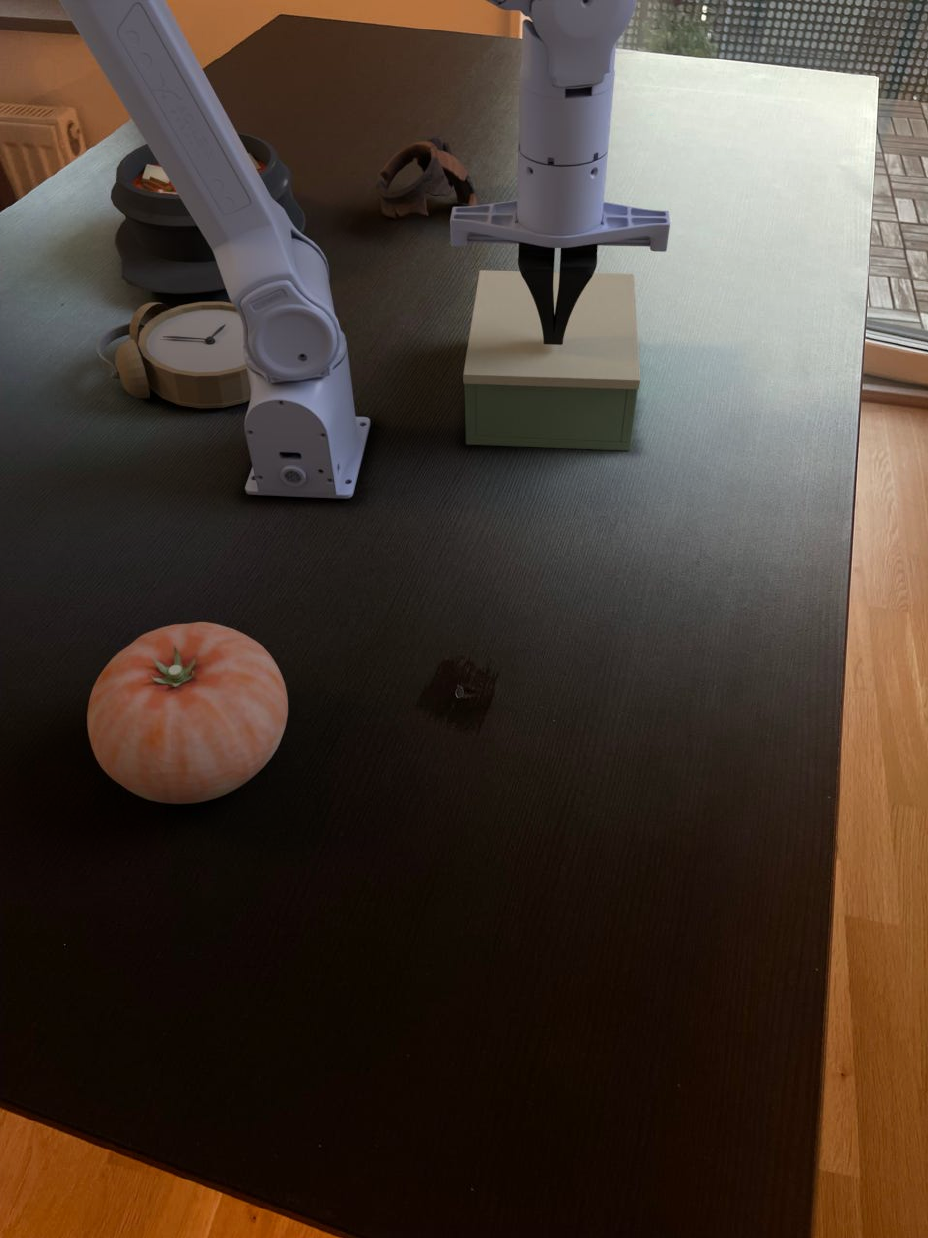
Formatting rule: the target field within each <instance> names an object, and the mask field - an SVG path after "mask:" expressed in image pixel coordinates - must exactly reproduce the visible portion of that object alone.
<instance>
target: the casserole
mask: <svg viewBox="0 0 928 1238" xmlns="http://www.w3.org/2000/svg"><path fill="white" fill-rule="evenodd" d="M236 133H237V135H238V136H239V138H240V140H241V142H242V144H243V146H244V148H245V149H246V151H247V153H248V155H249V157H250V159H251V160H252V162H253V164H254V166H255V168H256V170H257V172H258V173H259V175H260V177H261V179H262V181H263V183H264V185H265V186H266V188H267V190H268V192H269V194H270V196H271V197H272V199H273V200H274V201H276V202H277V203H278V204H279V205H280V206H281V207H283V208H284V210H285V211H286V213H287V215H288V217H289V219H290V221H291V222H292V224H293V225H294V227H295V228H296V229H297V230H298V231H299V232H300V233H301V234H303V233H304V232H305V229H306V225H307V219H306V215H305V214H306V213H305V212H304V211H303V209H302V208H301V207H300V205H299V204H298V202H297V201H296V200H295V197H294V193H293V189H292V186H291V183H292V174H291V173H292V172H291V170H290V169H289V168H288V166H287V164H285V163H284V162H282V160H281V159H280V157H279V155H278V152H277V151H276V149H275V148H274V147H273V145H272V144H271V143H269V142H268V141H266V140H264V139H263V138H260V137H257V136H255V135H251V134H247V133H242V132H236ZM115 173H116V174H115V183H114V184H113V186H112V188H111V190H110V200H111V203H112V205H113V206H114V207H115V208H116V210H117V211H118V212H120V213H121V214H122V215H123V216H124V217H125V219H124V220H123V221H122V222H121V223H120V225H119V226H118V229H117V231H116V233H115V236H114V245H115V248H116V250H117V252H118V255H119V257H120V260H121V279H122V280H123V281H124V282H125V283H126V284H127V285H129V286H132V287H134V288H136V289H139V290H144V291H149V292H153V293H162V294H163V293H164V294H173V295H174V294H175V295H176V294H201V293H210V292H218V291H222V290H226V287H225V284H224V281H223V278H222V276H221V273H220V270H219V267H218V264H217V261H216V258H215V256H214V253H213V251H212V249H211V247H210V245H209V244H208V242H207V240H206V239H205V237H204V236H203V234H202V232H201V231H200V229H199V227H198V226H197V224H196V223H195V221H194V219H193V218H192V216H191V214H190V213H189V211H188V210H187V208H186V206H185V205H184V203H183V201H182V200H181V198H180V197H179V195H178V193H177V192H176V190H175V188H174V187H173V185H172V184H171V182H170V180H169V179H168V177H167V175H166V174H165V172H164V171H163V169H162V167H161V166H160V164H159V162H158V161H157V159H156V157H155V156H154V154H153V153H152V151H151V149H150V148H149V146H148V144H147V143H145V144H143V145H141V146H139V147H137V148H135V149H133V150H132V151H130V152H129V153H128V154H126V155H125V156H124V157H123V158H122V159H121V160H120V162H119V163H118V165H117V167H116V172H115Z"/></svg>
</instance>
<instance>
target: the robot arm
mask: <svg viewBox="0 0 928 1238" xmlns="http://www.w3.org/2000/svg"><path fill="white" fill-rule="evenodd" d="M58 1H59V3H60V5H61V6H62V8H63V10H64V11H65V13H66V14H67V16H68V18H69V19H70V21H71V22H72V24H73V26H74V28H75V29H76V31H77V32H78V34H79V35H80V37H81V39H82V40H83V42H84V44H85V45H86V47H87V49H88V50H89V52H90V53H91V55H92V57H93V58H94V60H95V62H96V63H97V65H98V66H99V68H100V70H101V71H102V73H103V74H104V76H105V78H106V80H107V81H108V83H109V84H110V86H111V88H112V90H113V91H114V93H115V94H116V96H117V97H118V99H119V100H120V102H121V104H122V106H123V107H124V109H125V110H126V112H127V114H128V115H129V117H130V119H131V120H132V122H133V124H134V125H135V127H136V128H137V130H138V131H139V133H140V135H141V136H142V138H143V140H144V141H145V144H148V146H149V148H150V149H151V151H152V153H153V154H154V156H155V157H156V159H157V161H158V162H159V164H160V166H161V167H162V169H163V171H164V172H165V174H166V175H167V177H168V179H169V180H170V182H171V184H172V185H173V187H174V188H175V190H176V192H177V193H178V195H179V197H180V198H181V200H182V201H183V203H184V205H185V206H186V208H187V210H188V211H189V213H190V214H191V216H192V218H193V219H194V221H195V223H196V224H197V226H198V227H199V229H200V231H201V232H202V234H203V236H204V237H205V239H206V240H207V242H208V244H209V245H210V247H211V249H212V251H213V253H214V256H215V258H216V261H217V264H218V267H219V270H220V273H221V276H222V278H223V281H224V284H225V287H226V289H225V290H226V292H227V295H228V298H229V301H230V303H232V304H233V305H234V307H235V308H236V310H237V312H238V314H239V316H240V318H241V321H242V326H243V342H244V344H243V347H244V348H243V354H244V358H245V363H246V368H247V373H248V378H249V382H250V387H251V399H250V400H249V403H248V408H247V411H246V413H245V417H244V423H243V424H244V435H245V440H246V444H247V448H248V452H249V457H250V462H251V465H252V467H251V470H250V473H249V475H248V478H247V481H246V484H245V487H244V491H245V493H246V494H247V495H250V496H271V497H292V498H293V497H294V498H318V499H343V500H346V499H347V500H348V499H350V498H352V497H353V496H354V493H355V490H356V489H355V488H356V485H357V480H358V475H359V472H360V468H361V464H362V460H363V457H364V452H365V448H366V445H367V441H368V436H369V432H370V429H371V419H370V418H369V417H366V416H356V410H355V402H354V401H355V400H354V393H353V384H352V375H351V368H350V361H349V351H348V343H347V338H346V335H345V333H344V332H343V330H342V329H341V326H340V322H339V319H338V317H337V316H336V312H335V306H334V301H333V297H332V291H331V286H330V277H331V274H330V267H329V264H328V259H327V257H326V255H325V254H324V252H323V251H322V249H321V248H320V246H319V245H317V244H316V242H314V241H313V240H312V239H310V238H309V237H307V236H305V235H304V234H303V233H302V234H301V233H300V232H299V231H298V230H297V229H296V228H295V227H294V225H293V224H292V222H291V221H290V219H289V217H288V215H287V213H286V211H285V210H284V208H283V207H281V206H280V205H279V204H278V203H277V202H276V201H274V200H273V199H272V197H271V196H270V194H269V192H268V190H267V188H266V186H265V185H264V183H263V181H262V179H261V177H260V175H259V173H258V172H257V170H256V168H255V166H254V164H253V162H252V160H251V159H250V157H249V155H248V153H247V151H246V149H245V148H244V146H243V144H242V142H241V140H240V138H239V136H238V135H237V133H238V132H237V131H236V129H235V127H234V125H233V123H232V122H231V119H230V118H229V116H228V114H227V112H226V110H225V108H224V107H223V105H222V103H221V101H220V99H219V98H218V96H217V94H216V92H215V90H214V88H213V86H212V85H211V83H210V80H209V79H208V77H207V75H206V74H205V71H204V69H203V68H202V66H201V64H200V63H199V61H198V59H197V57H196V55H195V53H194V52H193V50H192V49H193V48H191V46H190V44H189V42H188V40H187V39H186V37H185V35H184V33H183V31H182V29H181V27H180V25H179V23H178V22H177V20H176V18H175V16H174V14H173V12H172V11H171V8H170V7H169V5H168V3H167V1H166V0H58ZM485 1H486V2H488V3H490V4H492V5H494V6H495V7H497V8H499V9H501V10H504V11H519V12H521V14H522V15H523V16H524V17H528V18H529V19H528V18H526V19H524V20H522V23H521V24H522V25H521V26H522V27H521V29H522V30H521V64H520V68H519V76H518V77H519V78H518V79H519V83H518V84H519V85H518V87H519V91H518V135H517V136H518V138H517V139H518V143H517V144H518V145H517V179H516V181H517V182H516V184H517V186H516V187H517V188H516V190H517V191H516V199H515V200H507V201H502V202H493V203H487V204H481V205H478V206H469V207H468V206H453V207H452V209H451V214H450V220H449V225H450V226H449V228H450V231H449V232H450V247H451V248H466V247H467V246H468V244H469V243H470V244H510V245H511V244H512V245H513V244H515V245H518V254H517V255H518V256H517V266H518V271H520V273H521V276H522V277H523V279H524V281H525V282H526V284H527V286H528V288H529V290H530V292H531V294H532V297H533V299H534V302H535V304H536V307H537V310H538V314H539V317H540V321H541V325H542V331H543V340H544V344H549V345H562V344H563V338H564V334H565V330H566V327H567V324H568V321H569V318H570V315H571V313H572V311H573V308H574V306H575V304H576V302H577V300H578V298H579V296H580V294H581V293H582V291H583V289H584V288H585V286H586V285H587V283H588V282H589V281H590V279H591V278H592V276H593V274H594V273H595V271H596V269H597V266H598V248H599V247H598V246H604V247H605V246H608V247H647V248H649V250H650V251H651V252H660V253H661V252H663V253H665V252H667V250H668V243H669V237H670V231H671V229H670V228H671V220H670V211H669V210H660V209H659V210H658V209H647V208H641V207H635V206H629V205H623V204H619V203H613V202H609V201H608V202H607V201H605V194H606V193H605V192H606V180H607V168H608V155H609V147H610V146H609V145H610V133H611V122H612V110H613V99H614V86H615V75H616V74H615V72H616V71H615V63H616V61H615V60H616V50H617V49H616V48H617V41H618V40H619V39H620V38H621V36H622V35H623V34H624V32H625V31H626V30H627V28H628V26H629V24H630V23H631V20H632V18H633V16H634V13H635V10H636V8H637V7H636V6H637V2H638V0H485ZM556 249H560V257H559V271H558V272H559V287H558V295H557V302H556V309H555V315H554V290H553V280H554V272H555V259H556V256H555V255H556Z"/></svg>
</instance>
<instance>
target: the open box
mask: <svg viewBox="0 0 928 1238" xmlns="http://www.w3.org/2000/svg"><path fill="white" fill-rule="evenodd" d="M638 392H639V389H612V388H582V387H552V386H522V385H492V384H464V420H465V423H464V424H465V425H464V426H465V445H469V446H471V445H473V446H474V445H475V446H500V447H523V448H525V447H526V448H551V449H553V448H554V449H575V450H576V449H579V450H580V449H581V450H605V451H627V452H628V451H631V448H632V440H633V430H634V425H635V424H634V422H635V416H636V407H637V402H638V401H637V400H638Z"/></svg>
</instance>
